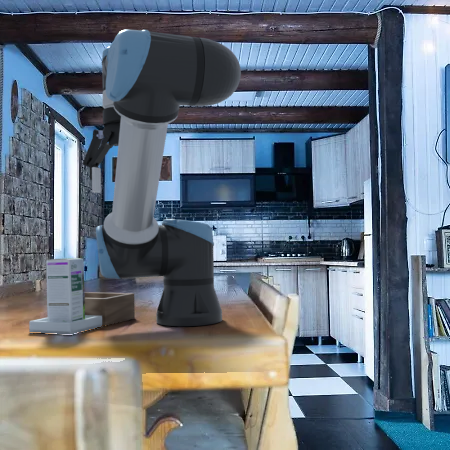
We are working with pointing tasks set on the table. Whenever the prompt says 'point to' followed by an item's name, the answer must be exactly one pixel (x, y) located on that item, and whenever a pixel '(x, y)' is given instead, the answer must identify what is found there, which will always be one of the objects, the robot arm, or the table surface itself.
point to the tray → (65, 325)
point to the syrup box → (65, 289)
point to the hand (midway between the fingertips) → (118, 191)
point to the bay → (110, 306)
